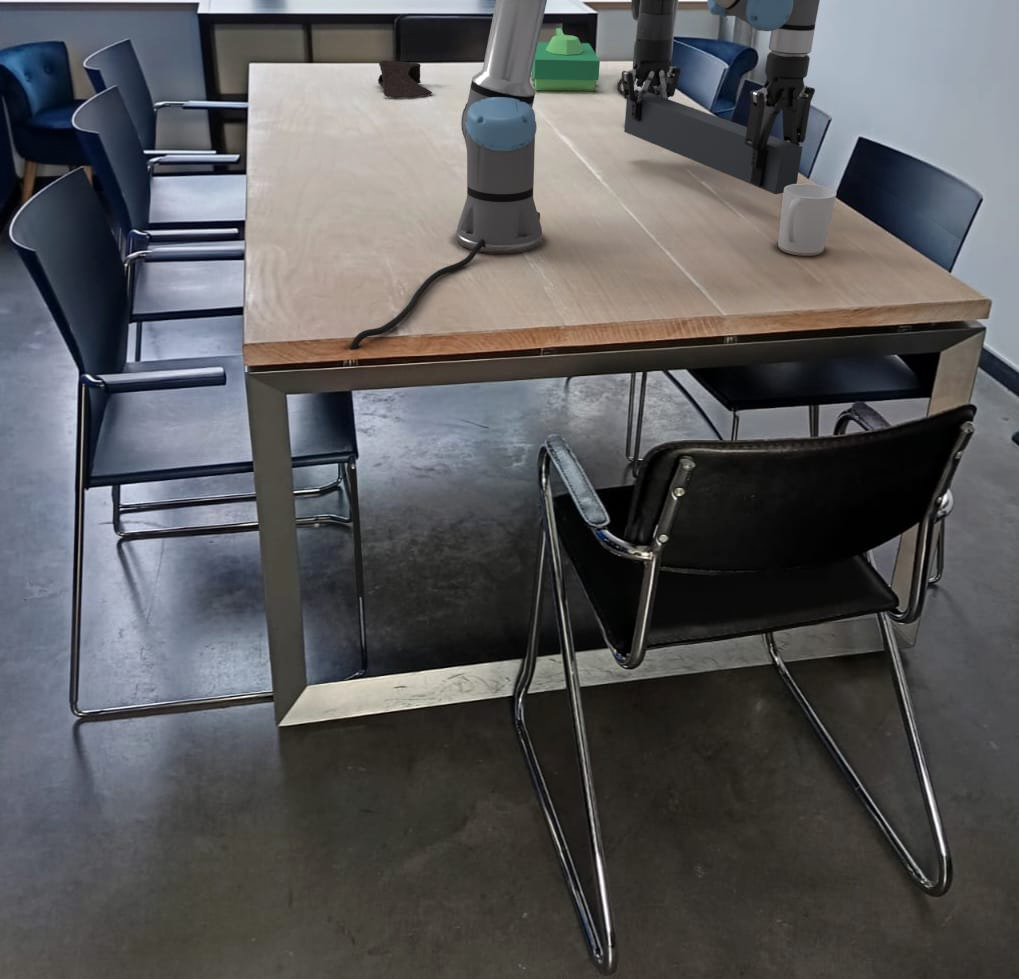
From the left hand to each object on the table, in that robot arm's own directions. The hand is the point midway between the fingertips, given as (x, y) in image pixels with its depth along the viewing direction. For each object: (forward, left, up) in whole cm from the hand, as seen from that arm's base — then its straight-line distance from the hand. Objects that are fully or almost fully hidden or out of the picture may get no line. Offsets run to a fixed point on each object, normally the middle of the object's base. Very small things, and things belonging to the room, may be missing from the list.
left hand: (768, 182), depth 208 cm
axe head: (+95, +91, -6) cm, 131 cm away
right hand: (+33, +24, +3) cm, 41 cm away
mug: (-20, -5, -6) cm, 21 cm away
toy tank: (+119, +49, -6) cm, 129 cm away
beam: (+17, +12, 0) cm, 20 cm away
